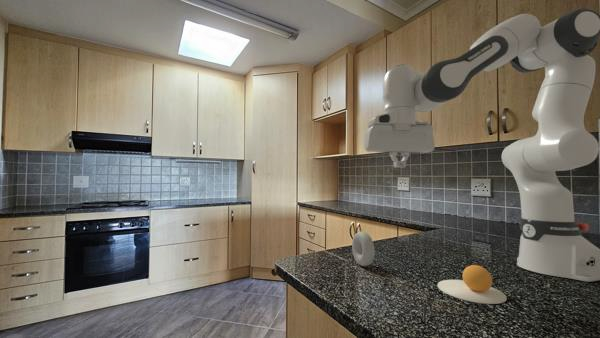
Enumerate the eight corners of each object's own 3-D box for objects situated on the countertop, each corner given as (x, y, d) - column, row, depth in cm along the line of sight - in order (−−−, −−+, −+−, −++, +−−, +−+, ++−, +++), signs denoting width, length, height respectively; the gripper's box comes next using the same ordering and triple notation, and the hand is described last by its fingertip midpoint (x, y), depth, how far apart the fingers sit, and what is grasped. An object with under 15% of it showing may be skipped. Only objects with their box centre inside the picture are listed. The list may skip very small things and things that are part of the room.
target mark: (474, 279, 66) (474, 278, 66) (523, 302, 53) (523, 301, 53) (426, 281, 64) (426, 280, 64) (464, 305, 51) (464, 304, 51)
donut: (377, 270, 72) (376, 234, 73) (366, 271, 71) (365, 234, 72) (359, 260, 82) (359, 228, 83) (350, 261, 81) (349, 229, 82)
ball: (482, 276, 62) (468, 257, 62) (503, 284, 56) (488, 263, 56) (466, 291, 61) (452, 272, 61) (486, 301, 56) (470, 280, 56)
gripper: (426, 124, 81) (427, 168, 80) (362, 122, 79) (362, 167, 78) (438, 119, 74) (440, 167, 73) (369, 116, 72) (370, 166, 71)
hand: (399, 167), depth 76 cm, fingers closed
